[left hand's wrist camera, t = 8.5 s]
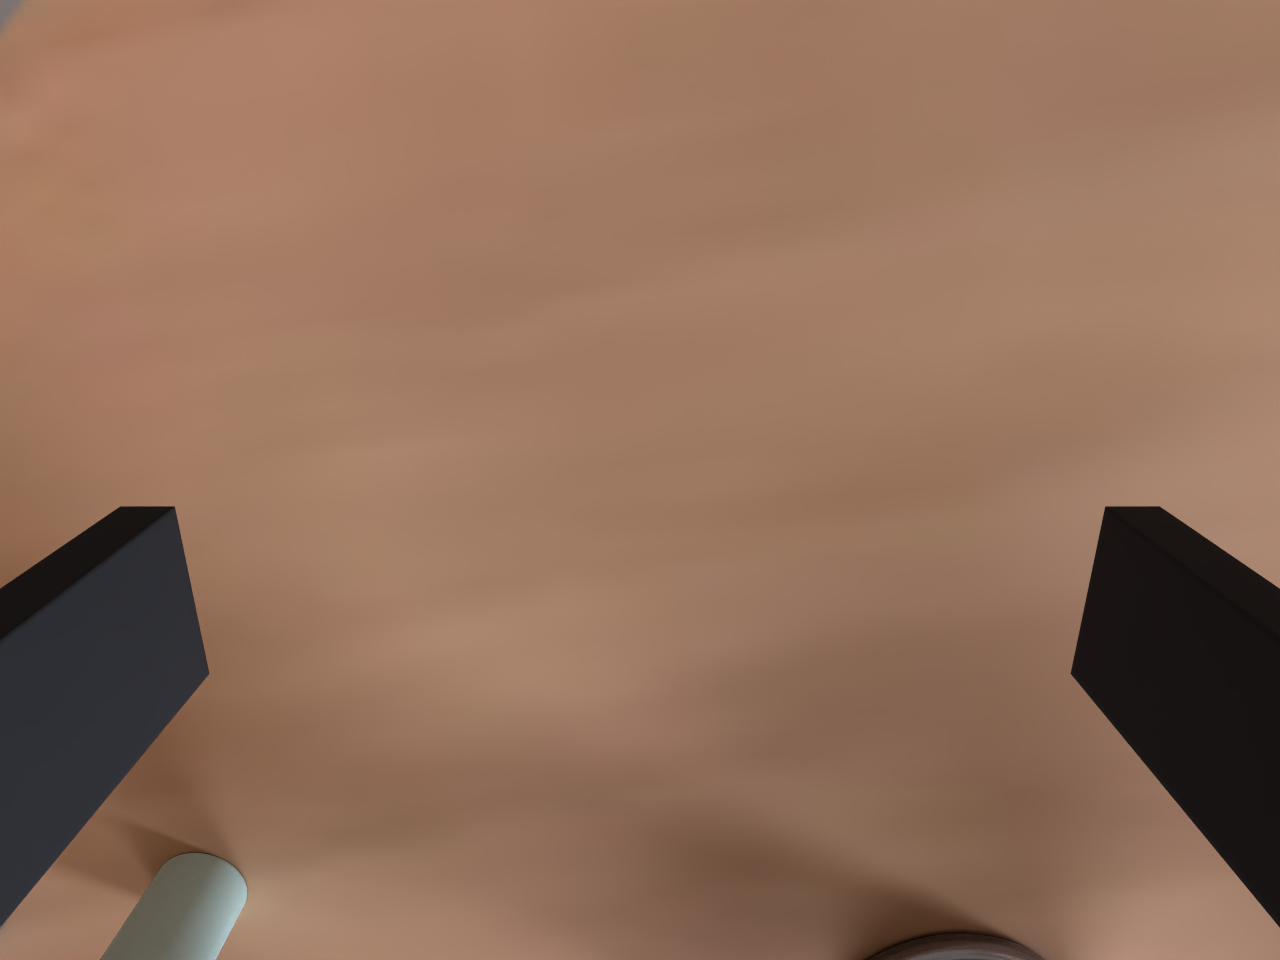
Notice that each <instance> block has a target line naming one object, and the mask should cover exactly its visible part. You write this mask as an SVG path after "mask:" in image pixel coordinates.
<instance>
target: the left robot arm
mask: <svg viewBox="0 0 1280 960" xmlns="http://www.w3.org/2000/svg"><path fill="white" fill-rule="evenodd" d="M208 675H209V670H208V665H207V661H206V656H205V651H204V646H203V641H202V636H201V631H200V627H199V622H198V617H197V612H196V607H195V602H194V598H193V593H192V588H191V583H190V578H189V573H188V569H187V564H186V559H185V554H184V549H183V544H182V540H181V535H180V530H179V525H178V520H177V515H176V511H175V507H119V508H117V509H116V510H115V511H113V512H112V513H110V514H109V515H107V516H106V517H104V518H103V519H101V520H100V521H98V522H97V523H96V524H94V525H93V526H91V527H90V528H88V529H87V530H85V531H84V532H82V533H81V534H79V535H78V536H77V537H75V538H74V539H72V540H71V541H69V542H68V543H66V544H65V545H63V546H62V547H60V548H59V549H58V550H56V551H55V552H53V553H52V554H50V555H49V556H47V557H46V558H44V559H43V560H41V561H40V562H39V563H37V564H36V565H34V566H33V567H31V568H30V569H28V570H27V571H25V572H24V573H22V574H21V575H20V576H18V577H17V578H15V579H14V580H12V581H11V582H9V583H8V584H6V585H5V586H3V587H2V588H1V589H0V927H1V926H2V925H3V923H4V922H5V921H6V920H7V919H8V917H9V916H10V915H11V914H12V912H13V911H14V910H15V909H16V908H17V906H18V905H19V904H20V903H21V902H22V900H23V899H24V898H25V897H26V895H27V894H28V893H29V892H30V891H31V889H32V888H33V887H34V886H35V885H36V883H37V882H38V881H39V880H40V878H41V877H42V876H43V875H44V874H45V872H46V871H47V870H48V869H49V868H50V866H51V865H52V864H53V863H54V861H55V860H56V859H57V858H58V857H59V855H60V854H61V853H62V852H63V851H64V849H65V848H66V847H67V846H68V845H69V843H70V842H71V841H72V840H73V838H74V837H75V836H76V835H77V834H78V832H79V831H80V830H81V829H82V828H83V826H84V825H85V824H86V823H87V821H88V820H89V819H90V818H91V817H92V815H93V814H94V813H95V812H96V811H97V809H98V808H99V807H100V806H101V804H102V803H103V802H104V801H105V800H106V798H107V797H108V796H109V795H110V794H111V792H112V791H113V790H114V789H115V787H116V786H117V785H118V784H119V783H120V781H121V780H122V779H123V778H124V777H125V775H126V774H127V773H128V772H129V770H130V769H131V768H132V767H133V766H134V764H135V763H136V762H137V761H138V760H139V758H140V757H141V756H142V755H143V753H144V752H145V751H146V750H147V749H148V747H149V746H150V745H151V744H152V743H153V741H154V740H155V739H156V738H157V737H158V735H159V734H160V733H161V732H162V730H163V729H164V728H165V727H166V726H167V724H168V723H169V722H170V721H171V720H172V718H173V717H174V716H175V715H176V713H177V712H178V711H179V710H180V709H181V707H182V706H183V705H184V704H185V703H186V701H187V700H188V699H189V698H190V696H191V695H192V694H193V693H194V692H195V690H196V689H197V688H198V687H199V686H200V684H201V683H202V682H203V681H204V679H205V678H206V677H207V676H208ZM1071 675H1072V676H1073V677H1074V678H1075V679H1076V681H1077V682H1078V683H1079V684H1080V686H1081V687H1082V688H1083V689H1084V690H1085V692H1086V693H1087V694H1088V695H1089V696H1090V698H1091V699H1092V700H1093V701H1094V703H1095V704H1096V705H1097V706H1098V707H1099V709H1100V710H1101V711H1102V712H1103V713H1104V715H1105V716H1106V717H1107V718H1108V720H1109V721H1110V722H1111V723H1112V724H1113V726H1114V727H1115V728H1116V729H1117V730H1118V732H1119V733H1120V734H1121V735H1122V737H1123V738H1124V739H1125V740H1126V741H1127V743H1128V744H1129V745H1130V746H1131V747H1132V749H1133V750H1134V751H1135V752H1136V753H1137V755H1138V756H1139V757H1140V758H1141V760H1142V761H1143V762H1144V763H1145V764H1146V766H1147V767H1148V768H1149V769H1150V770H1151V772H1152V773H1153V774H1154V775H1155V777H1156V778H1157V779H1158V780H1159V781H1160V783H1161V784H1162V785H1163V786H1164V787H1165V789H1166V790H1167V791H1168V792H1169V794H1170V795H1171V796H1172V797H1173V798H1174V800H1175V801H1176V802H1177V803H1178V804H1179V806H1180V807H1181V808H1182V809H1183V811H1184V812H1185V813H1186V814H1187V815H1188V817H1189V818H1190V819H1191V820H1192V821H1193V823H1194V824H1195V825H1196V826H1197V828H1198V829H1199V830H1200V831H1201V832H1202V834H1203V835H1204V836H1205V837H1206V838H1207V840H1208V841H1209V842H1210V843H1211V845H1212V846H1213V847H1214V848H1215V849H1216V851H1217V852H1218V853H1219V854H1220V855H1221V857H1222V858H1223V859H1224V860H1225V861H1226V863H1227V864H1228V865H1229V866H1230V868H1231V869H1232V870H1233V871H1234V872H1235V874H1236V875H1237V876H1238V877H1239V878H1240V880H1241V881H1242V882H1243V883H1244V885H1245V886H1246V887H1247V888H1248V889H1249V891H1250V892H1251V893H1252V894H1253V895H1254V897H1255V898H1256V899H1257V900H1258V902H1259V903H1260V904H1261V905H1262V906H1263V908H1264V909H1265V910H1266V911H1267V912H1268V914H1269V915H1270V916H1271V917H1272V919H1273V920H1274V921H1275V922H1276V923H1277V925H1278V926H1279V927H1280V589H1279V588H1278V587H1277V586H1275V585H1274V584H1272V583H1271V582H1269V581H1268V580H1266V579H1265V578H1263V577H1262V576H1260V575H1259V574H1258V573H1256V572H1255V571H1253V570H1252V569H1250V568H1249V567H1247V566H1246V565H1244V564H1243V563H1241V562H1240V561H1239V560H1237V559H1236V558H1234V557H1233V556H1231V555H1230V554H1228V553H1227V552H1225V551H1224V550H1222V549H1221V548H1220V547H1218V546H1217V545H1215V544H1214V543H1212V542H1211V541H1209V540H1208V539H1206V538H1205V537H1203V536H1202V535H1201V534H1199V533H1198V532H1196V531H1195V530H1193V529H1192V528H1190V527H1189V526H1187V525H1186V524H1184V523H1183V522H1182V521H1180V520H1179V519H1177V518H1176V517H1174V516H1173V515H1171V514H1170V513H1168V512H1167V511H1165V510H1164V509H1163V508H1161V507H1105V511H1104V515H1103V520H1102V525H1101V530H1100V535H1099V540H1098V544H1097V549H1096V554H1095V559H1094V564H1093V569H1092V573H1091V578H1090V583H1089V588H1088V593H1087V598H1086V602H1085V607H1084V612H1083V617H1082V622H1081V627H1080V631H1079V636H1078V641H1077V646H1076V651H1075V656H1074V661H1073V665H1072V670H1071ZM869 960H1044V959H1043V958H1042V957H1041V956H1039V955H1038V954H1036V953H1035V952H1033V951H1031V950H1029V949H1028V948H1026V947H1024V946H1022V945H1019V944H1017V943H1014V942H1011V941H1008V940H1005V939H1002V938H997V937H993V936H987V935H979V934H944V935H935V936H929V937H924V938H920V939H916V940H912V941H909V942H906V943H902V944H900V945H897V946H895V947H892V948H890V949H888V950H886V951H884V952H881V953H879V954H878V955H876V956H874V957H873V958H871V959H869Z"/></svg>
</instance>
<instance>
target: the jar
mask: <svg viewBox="0 0 1280 960" xmlns="http://www.w3.org/2000/svg"><path fill="white" fill-rule="evenodd" d="M246 898H247V887H246V883H245V881H244V879H243V877H242V876H241V874H240V873H239V872H238V871H237V870H236V869H235V868H234V867H233V866H232V865H231V864H229V863H228V862H226V861H224V860H222V859H220V858H218V857H215V856H213V855H209V854H203V853H186V854H181V855H178V856H175V857H173V858H171V859H170V860H168V861H167V862H166V863H164V865H163V866H162V867H161V868H160V870H159V871H158V873H157V874H156V876H155V877H154V879H153V881H152V882H151V884H150V885H149V887H148V888H147V890H146V891H145V893H144V894H143V896H142V897H141V899H140V900H139V902H138V903H137V905H136V906H135V908H134V909H133V911H132V912H131V914H130V915H129V917H128V918H127V920H126V921H125V923H124V924H123V926H122V927H121V929H120V930H119V932H118V933H117V935H116V936H115V938H114V939H113V941H112V942H111V944H110V946H109V947H108V949H107V950H106V952H105V953H104V955H103V956H102V958H101V959H100V960H216V958H217V956H218V954H219V952H220V950H221V948H222V946H223V944H224V942H225V940H226V939H227V937H228V935H229V933H230V931H231V929H232V927H233V925H234V923H235V921H236V919H237V917H238V915H239V914H240V912H241V910H242V908H243V906H244V904H245V902H246Z"/></svg>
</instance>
